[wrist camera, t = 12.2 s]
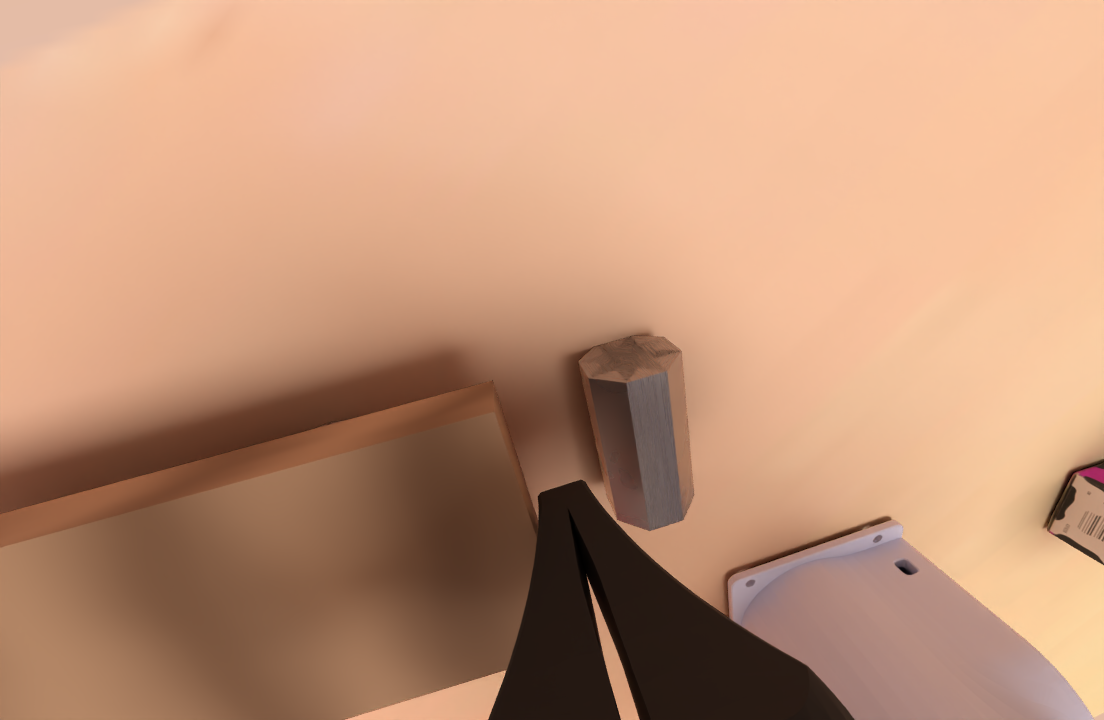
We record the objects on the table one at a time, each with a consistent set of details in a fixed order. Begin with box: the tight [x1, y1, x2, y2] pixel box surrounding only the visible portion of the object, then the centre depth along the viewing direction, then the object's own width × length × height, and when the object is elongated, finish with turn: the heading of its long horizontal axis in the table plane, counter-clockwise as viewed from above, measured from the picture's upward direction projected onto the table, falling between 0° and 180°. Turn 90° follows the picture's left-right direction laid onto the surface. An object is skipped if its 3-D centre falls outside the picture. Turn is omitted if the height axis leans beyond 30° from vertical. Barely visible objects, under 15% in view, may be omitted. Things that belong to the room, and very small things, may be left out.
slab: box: [0, 380, 538, 720], centre depth 11 cm, size 16×9×2 cm, turn 102°
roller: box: [578, 335, 694, 531], centre depth 14 cm, size 3×6×3 cm
